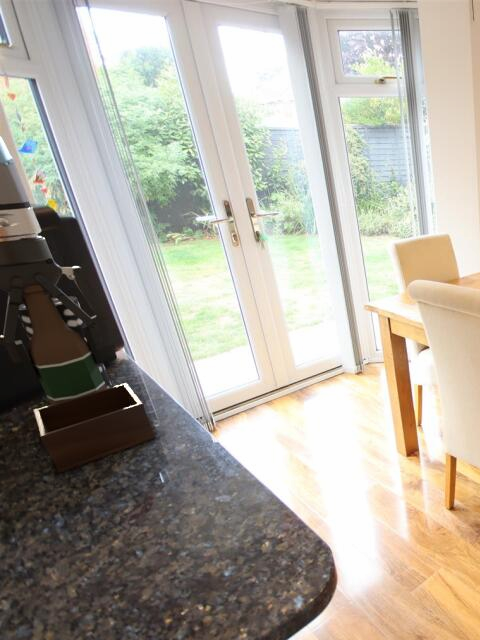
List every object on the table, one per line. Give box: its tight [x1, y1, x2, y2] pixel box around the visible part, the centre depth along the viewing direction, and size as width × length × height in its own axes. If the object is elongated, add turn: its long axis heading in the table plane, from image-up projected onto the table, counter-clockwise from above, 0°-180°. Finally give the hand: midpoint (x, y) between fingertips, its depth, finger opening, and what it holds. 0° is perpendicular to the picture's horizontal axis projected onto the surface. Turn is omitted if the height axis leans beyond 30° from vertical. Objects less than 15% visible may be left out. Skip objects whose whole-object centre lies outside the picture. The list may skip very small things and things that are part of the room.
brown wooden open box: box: [33, 382, 156, 474], centre depth 76 cm, size 12×12×7 cm
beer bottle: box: [21, 284, 107, 405], centre depth 79 cm, size 8×8×24 cm
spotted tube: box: [18, 296, 113, 388], centre depth 88 cm, size 8×8×20 cm
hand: (67, 369), depth 80 cm, fingers closed on beer bottle, 8 cm apart
